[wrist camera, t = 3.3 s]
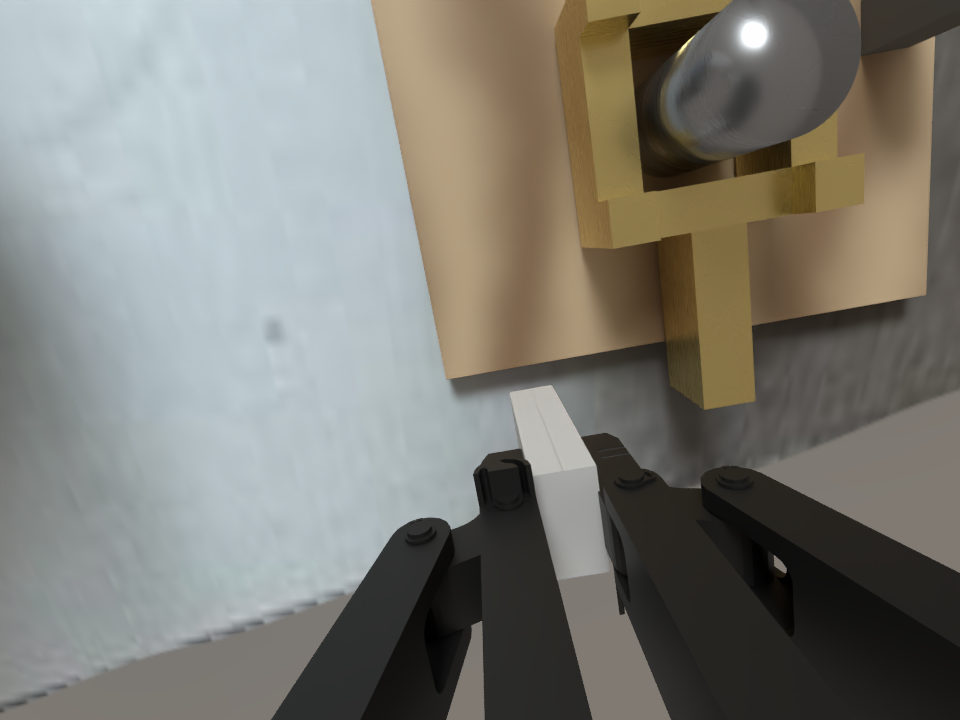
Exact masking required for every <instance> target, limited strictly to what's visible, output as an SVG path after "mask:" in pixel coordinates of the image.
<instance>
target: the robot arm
mask: <svg viewBox="0 0 960 720" xmlns="http://www.w3.org/2000/svg"><path fill="white" fill-rule="evenodd" d="M509 393H510V398H511V404H512V410H513V416H514V422H515V428H516V434H517V440H518V446H519V449H515V450H509V451H503V452H497V453H491V454H488V455H487V456H486V458H485V459H484V460H483V461H482V464H481V465H480V466H478V467H477V468H476V469H475V471H474V474H473V476H474V481H475V486H476V492H477V497H478V502H479V507H480V514H479V515H478V516H477V517H476V518H475V519H474V520H472V521H470V522H469V523H467V524H465V525H463V526H461V527H458V528H455V529H452V530H451V528H450V526H449V524H448V523H447V522H446V521H444V520H442V519H440V518H420V519H416V520H415V521H414V520H413V521H411V522H409V523H407V524H406V525H404V526H402V527H401V528H399V529H398V530H397V531H396V532H395V533H394V534H393V535H392V537H391V538H390V540H389V541H388V543H387V544H386V546H385V547H384V549H383V550H382V552H381V553H380V555H379V556H378V558H377V559H376V561H375V563H374V564H373V566H372V567H371V569H370V570H369V572H368V573H367V575H366V576H365V578H364V579H363V581H362V582H361V584H360V585H359V587H358V588H357V590H356V591H355V593H354V595H353V596H352V598H351V599H350V601H349V602H348V604H347V605H346V607H345V608H344V610H343V612H342V613H341V614H340V616H339V617H338V619H337V620H336V622H335V623H334V625H333V626H332V628H331V629H330V631H329V633H328V634H327V636H326V637H325V639H324V640H323V642H322V643H321V645H320V646H319V648H318V649H317V651H316V653H315V654H314V655H313V657H312V658H311V660H310V662H309V663H308V664H307V666H306V668H305V669H304V671H303V672H302V674H301V675H300V677H299V678H298V680H297V681H296V683H295V684H294V686H293V687H292V689H291V690H290V692H289V693H288V695H287V697H286V698H285V700H284V701H283V703H282V704H281V706H280V707H279V709H278V710H277V712H276V713H275V715H274V716H273V718H272V719H271V720H446V718H447V715H448V712H449V709H450V705H451V702H452V699H453V696H454V692H455V689H456V685H457V682H458V679H459V676H460V673H461V669H462V666H463V663H464V659H465V656H466V653H467V650H468V646H469V643H470V640H471V632H472V631H471V630H472V629H471V625H473V624H475V623H478V622H480V621H482V625H483V666H484V667H483V668H484V705H485V706H484V708H485V720H592V716H591V712H590V708H589V705H588V701H587V696H586V693H585V689H584V685H583V681H582V677H581V673H580V669H579V665H578V661H577V657H576V653H575V649H574V645H573V642H572V637H571V634H570V629H569V625H568V621H567V618H566V613H565V609H564V606H563V601H562V597H561V593H560V589H559V585H558V582H557V580H563V579H569V578H575V577H581V576H588V575H594V574H600V573H606V572H610V565H609V558H608V554H609V557H610V559H611V561H612V563H613V567H614V575H615V582H616V590H617V598H618V605H619V612H620V615H622V614H625V611H624V606H625V609H626V611H627V614H628V616H629V619H630V621H631V623H632V625H633V628H634V630H635V633H636V635H637V638H638V640H639V643H640V645H641V647H642V650H643V652H644V655H645V657H646V660H647V662H648V665H649V667H650V669H651V672H652V674H653V677H654V679H655V682H656V684H657V686H658V689H659V691H660V694H661V696H662V699H663V701H664V703H665V706H666V708H667V711H668V713H669V715H670V718H671V720H960V573H958V572H957V571H955V570H953V569H951V568H949V567H947V566H945V565H943V564H940V563H939V562H936V561H935V560H932V559H931V558H929V557H927V556H925V555H923V554H921V553H919V552H917V551H915V550H913V549H911V548H909V547H907V546H905V545H903V544H901V543H899V542H897V541H895V540H893V539H891V538H889V537H887V536H885V535H883V534H881V533H879V532H877V531H875V530H873V529H871V528H869V527H867V526H865V525H863V524H861V523H859V522H857V521H855V520H853V519H851V518H849V517H847V516H845V515H843V514H841V513H839V512H837V511H835V510H833V509H831V508H829V507H827V506H825V505H823V504H821V503H819V502H818V501H816V500H814V499H812V498H809V497H807V496H806V495H804V494H801V493H800V492H798V491H796V490H794V489H792V488H790V487H788V486H786V485H784V484H782V483H780V482H778V481H776V480H774V479H772V478H770V477H767V476H766V475H764V474H762V473H760V472H757V471H754V470H751V469H747V468H741V467H738V466H731V467H729V466H723V467H721V468H715V469H712V470H709V471H707V472H705V473H704V474H703V475H702V477H701V488H672V487H668V485H667V484H666V483H665V482H664V480H663V479H662V478H661V477H660V476H659V475H658V474H656V473H655V472H653V471H650V470H647V469H641V468H640V467H639V465H638V464H637V463H636V461H635V460H634V459H633V457H632V456H631V455H630V454H629V452H628V451H627V449H626V448H625V447H624V445H623V444H622V443H621V441H620V440H619V439H618V438H617V437H614V436H612V435H610V434H608V433H602V434H596V435H590V436H584V437H580V435H579V433H578V432H577V430H576V428H575V426H574V424H573V423H572V421H571V419H570V417H569V415H568V414H567V412H566V410H565V408H564V406H563V405H562V403H561V401H560V399H559V397H558V396H557V394H556V392H555V390H554V388H553V387H552V385H549V386H543V387H537V388H531V389H526V390H520V391H514V392H509ZM774 555H775V556H776V557H777V558H778V559H780V560H781V561H782V562H783V564H784V565H785V566H786V568H787V572H786V574H785V573H783V572H782V571H780V570H779V569H777V568H776V567H775V566H774Z"/></svg>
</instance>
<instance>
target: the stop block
mask: <svg viewBox="0 0 960 720" xmlns="http://www.w3.org/2000/svg"><path fill="white" fill-rule="evenodd" d="M959 25H960V0H861V56H865V55H870V54H876V53H881V52H887V51H892V50H897V49H903V48H908V47H912V46H914V45H916V44H918V43H921V42H923V41H925V40H927V39H930V38H932V37H934V36H936V35H939V34H941V33H943V32H946V31H948V30H950V29H952V28H955V27H957V26H959Z"/></svg>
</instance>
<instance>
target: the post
mask: <svg viewBox="0 0 960 720" xmlns="http://www.w3.org/2000/svg"><path fill="white" fill-rule="evenodd" d="M860 56H861V33H860V27H859V22H858V19H857V16H856V13H855V11H854V8H853V6H852V4H851V2H850V1H849V0H732V1H731V2H730V3H729V4H728V5H727V6H726V7H725V8H724V9H722V10H721V11H720V12H719V13H718V14H717V15H716V16H715V17H714V18H713V19H711V20H710V21H709V22H708V23H707V24H706V25H705V26H704V27H703V28H702V29H701V30H699V31H698V32H697V33H696V34H695V35H694V36H693V37H692V38H691V39H690V40H688V41H687V42H686V43H685V44H684V45H683V46H682V47H681V48H680V49H679V50H678V51H676V52H675V53H674V54H673V55H672V56H671V57H670V58H669V59H668V60H667V61H665V62H664V63H663V64H662V65H661V66H660V67H659V68H658V69H657V70H656V71H654V72H653V73H652V74H651V75H650V76H649V77H648V78H647V79H646V80H645V81H644V82H642V83H641V84H640V85H639V86H638V87H637V88H636V89H635V90H634V96H635V106H636V117H637V128H638V138H639V149H640V159H641V170H642V172H643V173H645V174H647V175H650V176H653V177H659V178H667V177H674V176H678V175H681V174H684V173H687V172H690V171H693V170H696V169H700V168H703V167H706V166H709V165H712V164H715V163H718V162H722V161H725V160H728V159H731V158H734V157H737V156H740V155H744V154H747V153H750V152H753V151H756V150H759V149H762V148H766V147H769V146H772V145H775V144H778V143H781V142H784V141H788V140H791V139H794V138H797V137H799V136H802V135H804V134H807V133H809V132H810V131H812V130H814V129H816V128H817V127H819V126H820V125H821V124H823V123H824V122H825V121H826V120H827V119H828V118H830V117H831V116H832V115H833V114H834V112H835V111H836V110H837V109H838V108H839V107H840V105H841V104H842V102H843V101H844V100H845V98H846V96H847V94H848V93H849V91H850V89H851V87H852V85H853V82H854V80H855V77H856V74H857V71H858V67H859V62H860Z"/></svg>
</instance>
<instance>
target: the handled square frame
mask: <svg viewBox="0 0 960 720" xmlns="http://www.w3.org/2000/svg"><path fill="white" fill-rule="evenodd" d="M731 1H732V0H566V1H565V4H564V6H563V9H562V11H561V13H560V16H559V18H558V21H557V23H556V26H555V28H554V33H555V41H556V49H557V57H558V65H559V73H560V81H561V89H562V97H563V105H564V113H565V121H566V129H567V137H568V145H569V153H570V161H571V169H572V177H573V185H574V193H575V201H576V209H577V217H578V225H579V233H580V241H581V247H583V248H606V249H615V248H621V247H626V246H632V245H638V244H643V243H649V242H654V241H657V248H658V259H659V270H660V282H661V293H662V304H663V315H664V326H665V337H666V348H667V359H668V370H669V382H670V386H671V387H673V388H674V389H676V390H677V391H678V392H680V393H681V394H683V395H684V396H686V397H687V398H688V399H690V400H691V401H693V402H694V403H695V404H697V405H698V406H700V407H701V408H703V409H704V410H706V409H712V408H718V407H723V406H729V405H735V404H741V403H746V402H752V401H755V383H754V362H753V342H752V321H751V300H750V279H749V259H748V238H747V223H748V222H753V221H759V220H765V219H770V218H776V217H781V216H787V215H792V214H803V213H815V212H821V211H827V210H832V209H838V208H843V207H849V206H854V205H860V204H864V153H861V154H855V155H850V156H844V157H839V158H838V152H837V110H836V111H835V112H834V114H833V115H832V116H831V117H830V118H828V119H827V120H826V121H825V122H824V123H823V124H821V125H820V126H819V127H817V128H816V129H814V130H812V131H810V132H809V133H807V134H804V135H802V136H799V137H797V138H794V139H791V140H788V141H784V142H781V143H778V144H775V145H772V146H769V147H766V148H762V149H759V150H756V151H753V152H750V153H747V154H744V155H740V156H737V157H736V169H737V177H735V178H730V179H724V180H719V181H713V182H708V183H702V184H696V185H691V186H685V187H680V188H674V189H669V190H663V191H658V192H657V191H651V192H646V193H644V191H643V181H642V170H641V159H640V149H639V138H638V128H637V117H636V106H635V96H634V85H633V74H632V64H631V61H633V60H639V59H644V58H649V57H655V56H660V55H665V54H671V53H675V52H676V51H678V50H679V49H680V48H681V47H682V46H683V45H684V44H685V43H686V42H687V41H688V40H690V39H691V38H692V37H693V36H694V35H695V34H696V33H697V32H698V31H699V30H701V29H702V28H703V27H704V26H705V25H706V24H707V23H708V22H709V21H710V20H711V19H713V18H714V17H715V16H716V15H717V14H718V13H719V12H720V11H721V10H722V9H724V8H725V7H726V6H727V5H728V4H729V3H730V2H731Z"/></svg>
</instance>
